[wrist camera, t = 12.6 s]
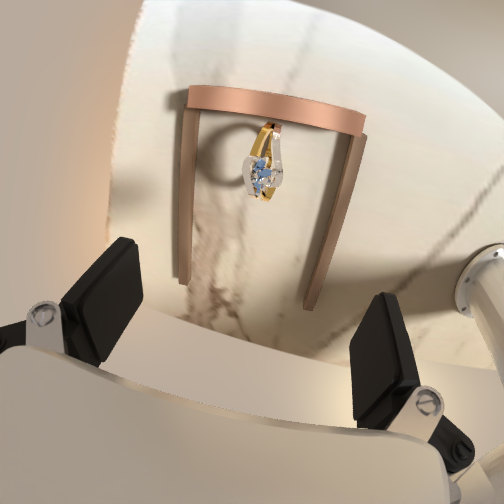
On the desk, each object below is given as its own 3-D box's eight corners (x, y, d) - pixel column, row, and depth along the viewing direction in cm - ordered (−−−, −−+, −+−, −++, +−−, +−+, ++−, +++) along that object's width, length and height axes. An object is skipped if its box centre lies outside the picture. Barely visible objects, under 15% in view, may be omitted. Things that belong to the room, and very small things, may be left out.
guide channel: (368, 114, 24) (379, 119, 21) (312, 303, 37) (312, 325, 34) (191, 84, 25) (176, 85, 22) (182, 276, 38) (172, 296, 35)
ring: (276, 187, 30) (269, 221, 23) (246, 178, 30) (230, 209, 23) (296, 124, 26) (296, 138, 19) (264, 114, 26) (252, 125, 19)
